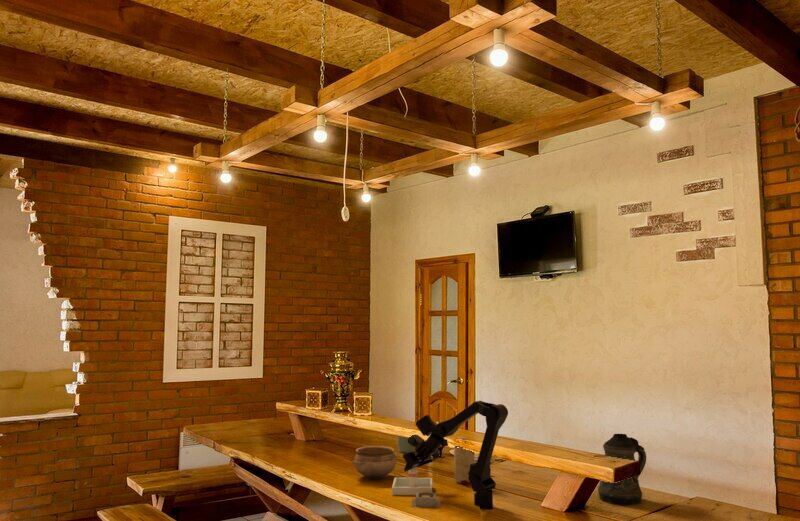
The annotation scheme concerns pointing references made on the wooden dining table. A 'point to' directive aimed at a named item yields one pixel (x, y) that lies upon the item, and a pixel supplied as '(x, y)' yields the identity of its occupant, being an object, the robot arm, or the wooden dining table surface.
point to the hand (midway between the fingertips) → (409, 469)
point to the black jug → (628, 488)
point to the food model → (462, 462)
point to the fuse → (413, 477)
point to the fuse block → (426, 500)
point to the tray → (402, 487)
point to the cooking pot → (375, 461)
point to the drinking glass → (404, 445)
